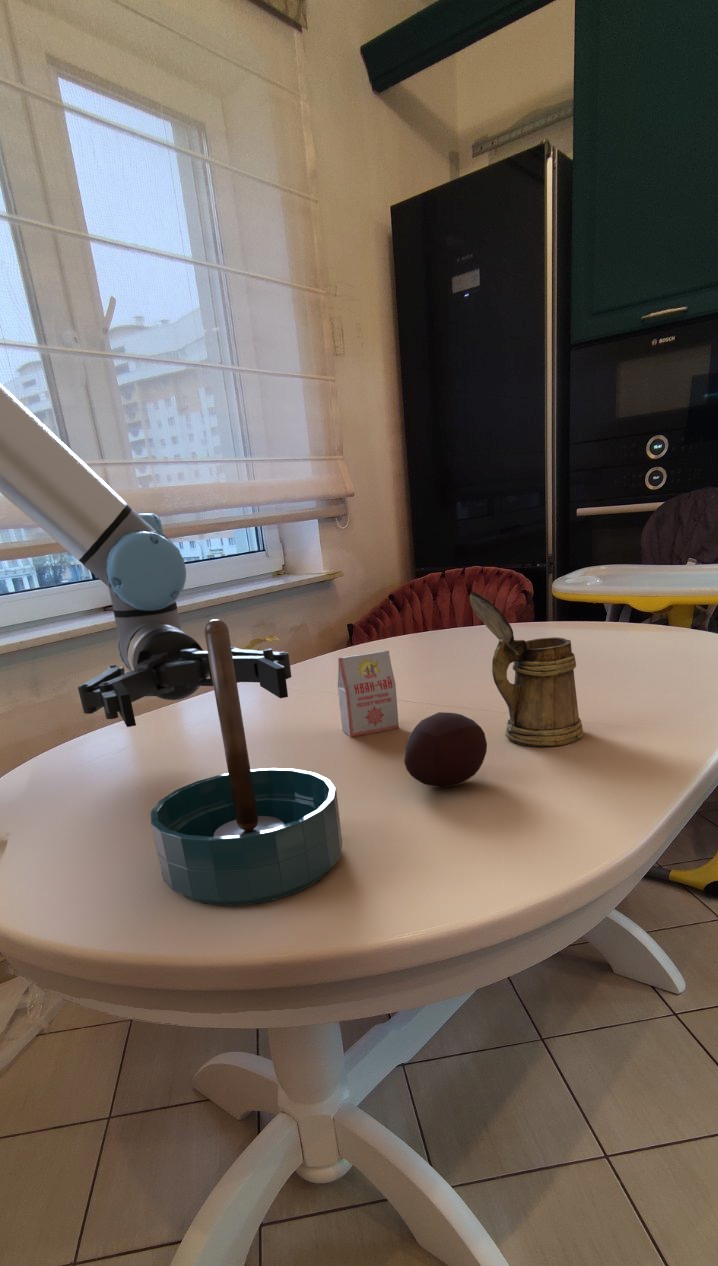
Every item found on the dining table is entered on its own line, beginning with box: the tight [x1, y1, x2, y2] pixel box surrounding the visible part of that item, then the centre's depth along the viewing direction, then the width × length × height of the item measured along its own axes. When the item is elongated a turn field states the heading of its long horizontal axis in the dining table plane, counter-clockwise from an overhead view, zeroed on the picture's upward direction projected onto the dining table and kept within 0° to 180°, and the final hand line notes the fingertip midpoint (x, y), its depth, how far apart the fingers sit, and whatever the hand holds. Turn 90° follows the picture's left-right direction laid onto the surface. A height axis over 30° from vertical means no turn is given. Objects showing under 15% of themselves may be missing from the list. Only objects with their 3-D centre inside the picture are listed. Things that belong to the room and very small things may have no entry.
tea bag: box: [337, 650, 400, 738], centre depth 95 cm, size 4×7×10 cm, turn 108°
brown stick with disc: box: [203, 618, 284, 837], centre depth 58 cm, size 6×6×20 cm
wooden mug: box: [469, 590, 584, 748], centre depth 83 cm, size 9×14×18 cm, turn 106°
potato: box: [403, 711, 488, 789], centre depth 74 cm, size 8×9×8 cm
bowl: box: [149, 767, 343, 906], centre depth 61 cm, size 15×15×6 cm
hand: (208, 696), depth 63 cm, fingers open, 13 cm apart
